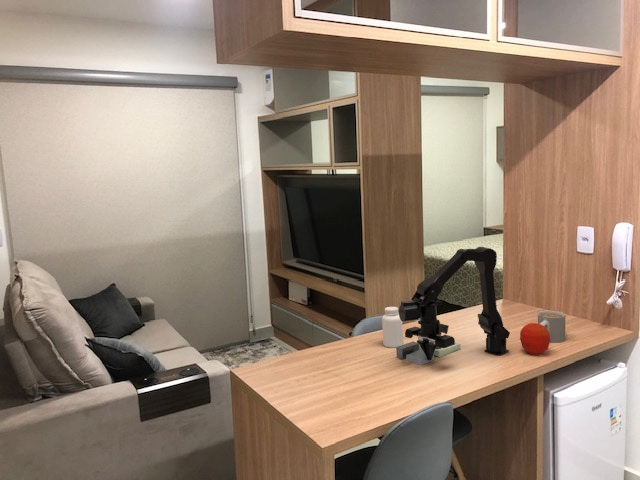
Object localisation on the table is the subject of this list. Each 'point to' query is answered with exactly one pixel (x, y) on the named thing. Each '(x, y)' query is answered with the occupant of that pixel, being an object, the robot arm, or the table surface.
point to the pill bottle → (392, 328)
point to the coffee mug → (553, 324)
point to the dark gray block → (406, 349)
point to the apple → (535, 338)
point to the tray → (445, 350)
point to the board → (418, 357)
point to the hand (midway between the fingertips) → (429, 360)
